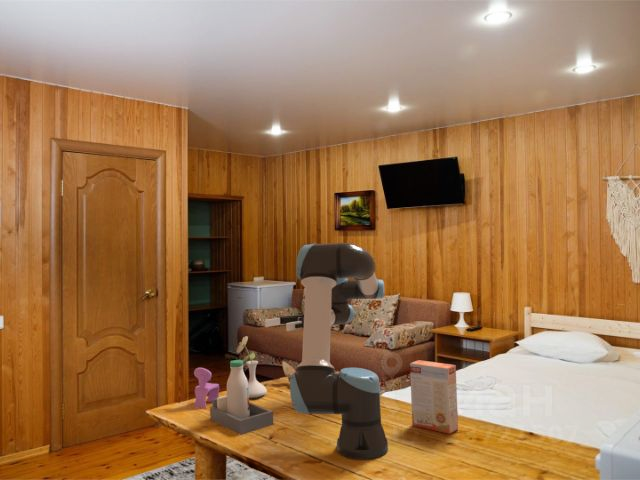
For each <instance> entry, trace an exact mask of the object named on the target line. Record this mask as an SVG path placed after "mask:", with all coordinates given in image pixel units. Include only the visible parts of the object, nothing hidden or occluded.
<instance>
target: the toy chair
mask: <svg viewBox="0 0 640 480" xmlns="http://www.w3.org/2000/svg"><path fill="white" fill-rule="evenodd" d="M193 375H194V377H195V378H196V379H198V385H197V386H195V387H194V394H195V401H194V404H193V406H192V408H195V407H198V408H197V409H202V408H204V409H203V410H207V403H206V402H208V403H209V402H210V403H212V399H216V398H218V397H220V396H219V392H220V384H219V383H212V382H209V381H211V378H212V371H210V370H209V369H207V368H204V367H197V368H195V369H194V371H193ZM207 395H208V396H207Z"/></svg>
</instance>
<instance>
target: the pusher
mask: <svg viewBox="0 0 640 480" xmlns="http://www.w3.org/2000/svg"><path fill="white" fill-rule="evenodd" d="M217 409H219V410H221V411H224V412H226V413H227V394H226V395H223V396H219V397H218V398H217Z"/></svg>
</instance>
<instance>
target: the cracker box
mask: <svg viewBox="0 0 640 480" xmlns="http://www.w3.org/2000/svg"><path fill="white" fill-rule="evenodd" d="M456 366H457V365H455V364H450V363H443V362H437V361H435V362H434V361H427V360H420V359H418V360H415V361H412V362H410V363H409V367H410V369H409V373H410V374H409V375H410V394H411V396H410V397H411V398H410V399H411V400H410V401H411V422H412V423H411V425H412V426H414V427H418V428H423V429H427V430H432V431H436V432H439V433H444V434H446V435H447V434H448V435H451V434H452V433H454V432H456V431H458V430H459V417H458V415H459V414H458V413H459V412H458V395H457V394H458V393H457V391H458V389H457V387H458V386H457V367H456Z"/></svg>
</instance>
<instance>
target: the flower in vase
mask: <svg viewBox="0 0 640 480" xmlns="http://www.w3.org/2000/svg"><path fill="white" fill-rule="evenodd" d="M248 338H249V336H247V335H246V336H243V338H242V339H241V341H240V342H239V343H238V345H237V347H236V353H237V354H240V353H241V352H242V351H243V350H244V349H246V352H247V355H246V356H244V358H243V360H242V361H243V362H245V364H246V365H247V367H248V371H249V379H248V380H247V381H248V387H249V399H253V398H260V397H264V396H265V395H266V394H267V393H268V390H267V387H266V386H264V385H263V384H262V383H260V382H259V381H258V380H257V378H256V370H257V369H256V368H257V365H258V363H259V361H257V360H253V359H255V358H256V354H255V352H254V351H252V352H251V353H249V350H248V348H247V346H246V344H247V342H248ZM248 359H249V361H248Z"/></svg>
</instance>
